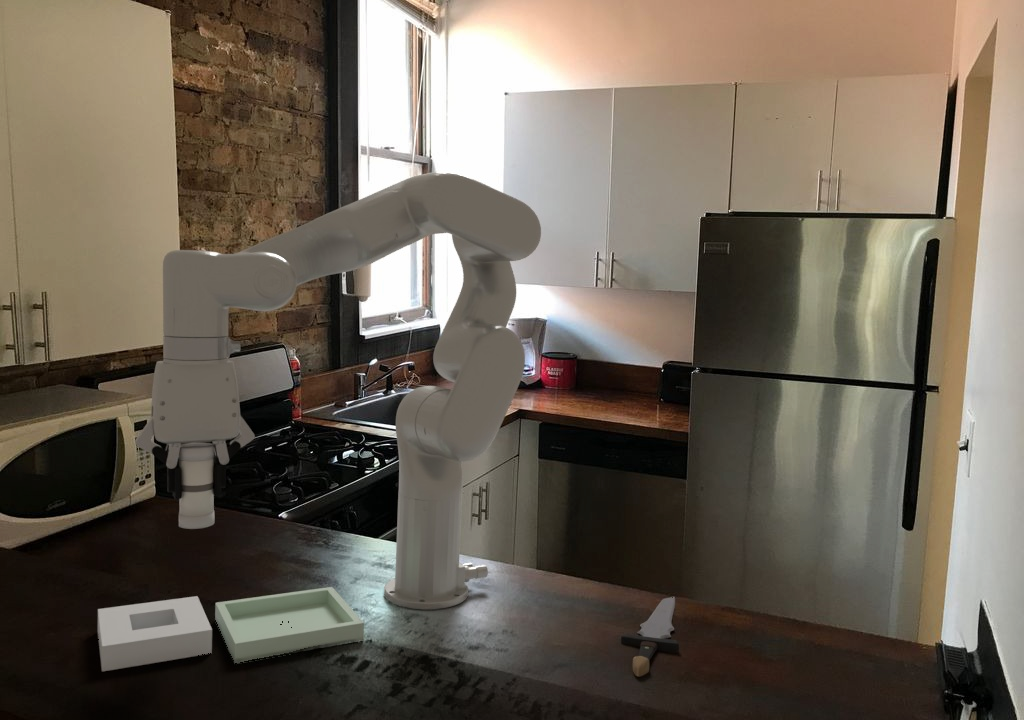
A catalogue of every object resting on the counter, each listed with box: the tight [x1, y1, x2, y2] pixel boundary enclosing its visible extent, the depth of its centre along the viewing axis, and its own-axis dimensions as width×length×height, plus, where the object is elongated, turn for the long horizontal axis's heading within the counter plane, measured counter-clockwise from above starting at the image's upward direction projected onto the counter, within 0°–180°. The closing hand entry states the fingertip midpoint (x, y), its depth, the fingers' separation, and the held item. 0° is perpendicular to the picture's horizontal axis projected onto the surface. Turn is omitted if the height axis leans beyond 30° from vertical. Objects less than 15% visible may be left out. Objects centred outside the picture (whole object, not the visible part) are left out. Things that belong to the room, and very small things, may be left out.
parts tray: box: [214, 586, 365, 664], centre depth 106 cm, size 16×14×2 cm
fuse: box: [178, 442, 215, 530], centre depth 100 cm, size 4×4×10 cm
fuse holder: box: [97, 595, 213, 672], centre depth 100 cm, size 12×12×3 cm
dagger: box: [620, 596, 680, 678], centre depth 112 cm, size 8×32×2 cm, turn 169°
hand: (196, 494), depth 101 cm, fingers closed on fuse, 4 cm apart
